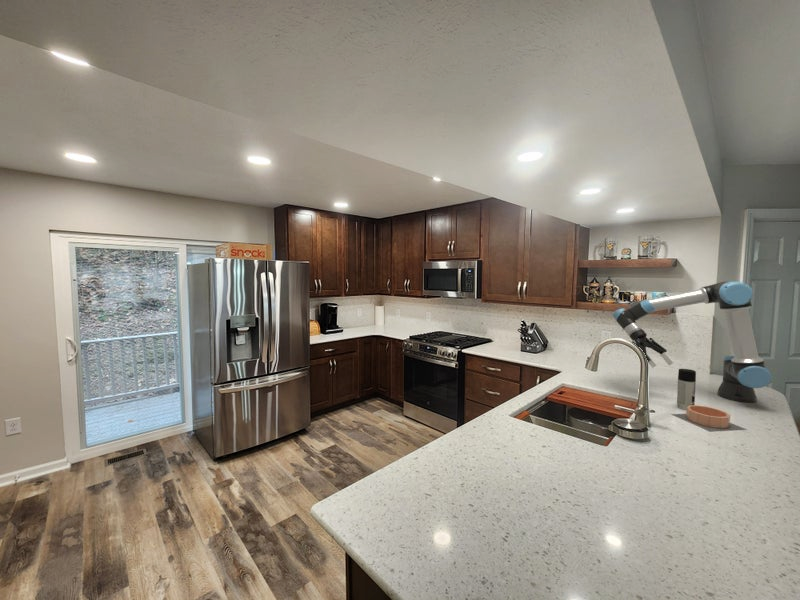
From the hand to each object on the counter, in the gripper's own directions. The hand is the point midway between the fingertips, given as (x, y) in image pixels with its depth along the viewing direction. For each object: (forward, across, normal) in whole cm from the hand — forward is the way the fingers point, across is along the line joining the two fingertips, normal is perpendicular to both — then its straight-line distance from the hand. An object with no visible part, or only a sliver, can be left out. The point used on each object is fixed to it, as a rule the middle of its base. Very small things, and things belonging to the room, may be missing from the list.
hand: (663, 365), depth 174 cm
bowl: (+30, +9, +3) cm, 32 cm away
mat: (+31, +9, +3) cm, 32 cm away
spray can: (+22, 0, -6) cm, 23 cm away
